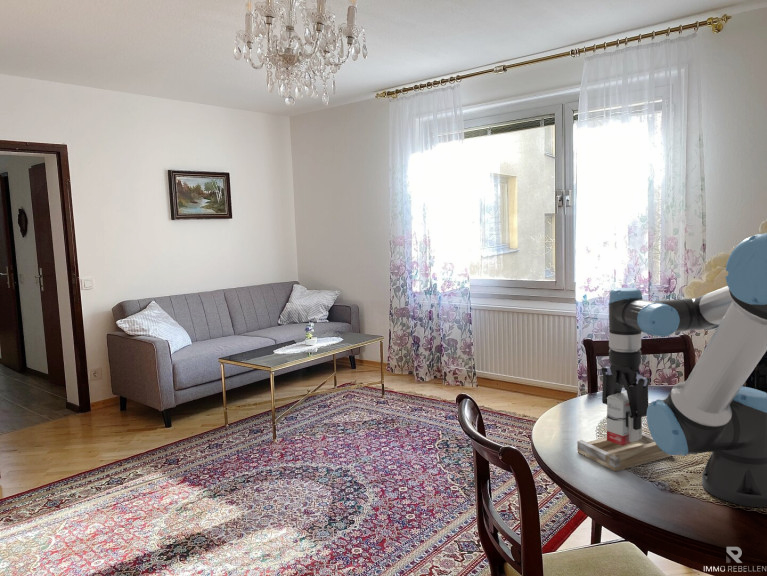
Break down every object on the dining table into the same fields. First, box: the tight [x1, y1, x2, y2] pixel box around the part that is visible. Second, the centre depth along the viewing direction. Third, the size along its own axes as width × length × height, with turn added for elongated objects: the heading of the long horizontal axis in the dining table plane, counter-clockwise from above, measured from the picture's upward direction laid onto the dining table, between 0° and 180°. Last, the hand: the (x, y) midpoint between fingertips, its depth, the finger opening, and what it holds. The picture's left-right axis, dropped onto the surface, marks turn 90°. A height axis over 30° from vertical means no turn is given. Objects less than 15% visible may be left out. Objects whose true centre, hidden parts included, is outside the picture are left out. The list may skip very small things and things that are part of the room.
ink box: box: [606, 390, 643, 446], centre depth 142 cm, size 8×5×12 cm, turn 123°
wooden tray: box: [576, 431, 673, 472], centre depth 143 cm, size 13×19×3 cm
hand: (624, 436), depth 143 cm, fingers closed on ink box, 5 cm apart
